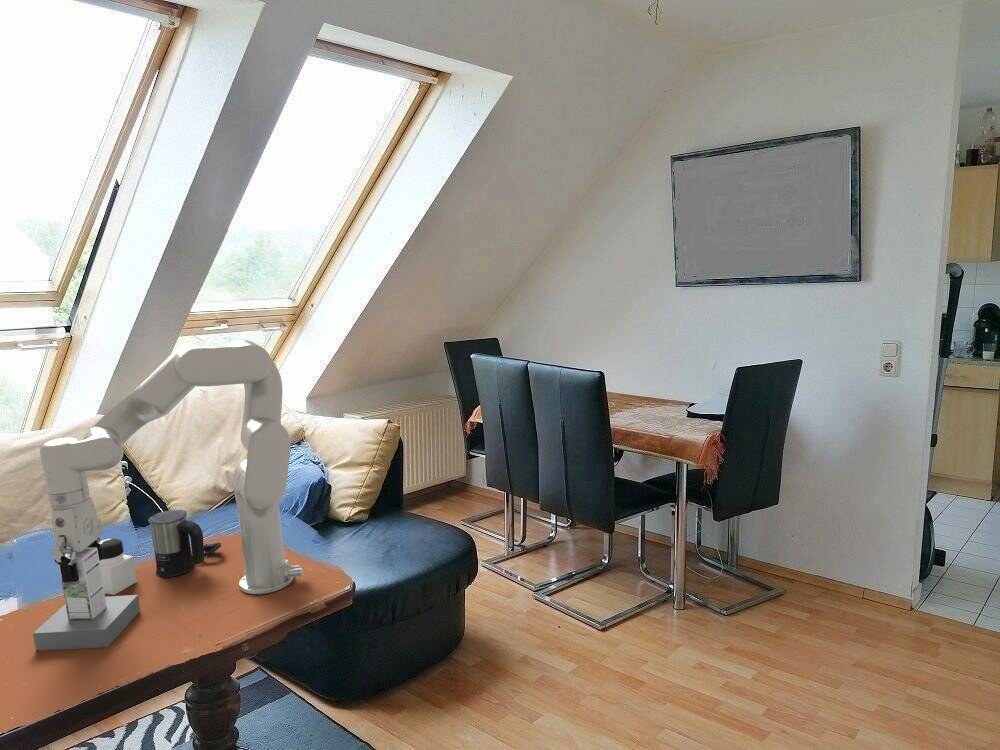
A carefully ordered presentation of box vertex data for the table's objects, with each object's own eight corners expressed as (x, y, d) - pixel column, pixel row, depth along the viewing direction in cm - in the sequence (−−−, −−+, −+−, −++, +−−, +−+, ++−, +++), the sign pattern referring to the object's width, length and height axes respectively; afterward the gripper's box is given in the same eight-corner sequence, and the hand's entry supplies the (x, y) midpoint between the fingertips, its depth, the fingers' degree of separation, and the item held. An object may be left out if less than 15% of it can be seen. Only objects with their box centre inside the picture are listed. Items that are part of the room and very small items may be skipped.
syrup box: (108, 606, 164) (98, 545, 161) (92, 620, 158) (82, 557, 155) (83, 607, 164) (73, 546, 161) (66, 620, 158) (56, 558, 156)
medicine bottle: (137, 582, 184) (130, 537, 182) (114, 595, 178) (107, 549, 175) (115, 579, 187) (108, 534, 184) (91, 592, 180) (84, 546, 178)
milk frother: (148, 578, 186) (141, 523, 183) (176, 552, 202) (169, 500, 199) (204, 576, 186) (197, 521, 183) (227, 550, 201) (221, 498, 199)
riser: (140, 610, 170) (137, 594, 169) (108, 646, 155) (105, 629, 154) (74, 614, 169) (71, 598, 169) (35, 650, 155) (32, 633, 154)
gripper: (64, 510, 148) (79, 588, 151) (107, 481, 165) (119, 552, 168) (27, 513, 148) (42, 591, 151) (73, 483, 165) (86, 554, 168)
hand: (83, 570), depth 160 cm, fingers open, 9 cm apart
